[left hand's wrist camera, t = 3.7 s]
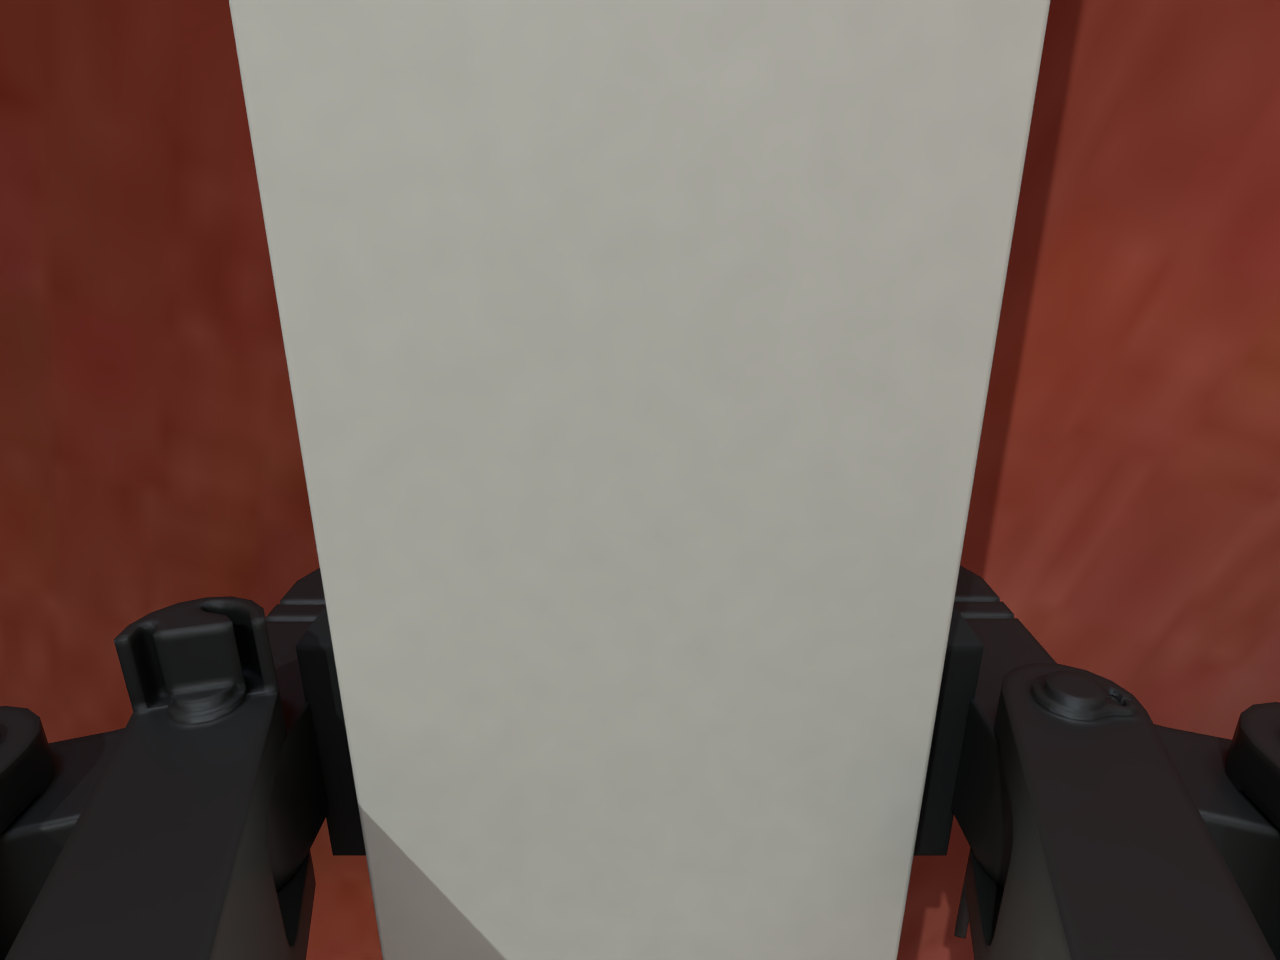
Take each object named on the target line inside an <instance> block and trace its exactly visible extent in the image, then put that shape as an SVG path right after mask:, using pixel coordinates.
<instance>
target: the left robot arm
mask: <svg viewBox="0 0 1280 960" xmlns="http://www.w3.org/2000/svg"><path fill="white" fill-rule="evenodd" d="M114 642H115V646H116V650H117V653H118V657H119V661H120V664H121V668H122V672H123V675H124V679H125V683H126V686H127V690H128V693H129V697H130V701H131V704H132V708H133V714H132V716H131V718H130V720H129V722H128V724H127V726H126V728H123V729H119V730H115V731H111V732H106V733H100V734H95V735H90V736H85V737H80V738H74V739H69V740H64V741H59V742H54V743H49V744H48V742H47V738H46V735H45V732H44V729H43V726H42V723H41V720H40V717H39V716H37V715H36V714H34V713H33V712H32V711H30V710H29V709H27V708H18V707H10V706H1V707H0V960H306V954H307V946H308V939H309V931H310V923H311V916H312V908H313V900H314V893H315V885H316V883H315V876H314V869H313V863H312V858H311V853H310V848H311V846H312V844H313V842H314V840H315V838H316V836H317V834H318V832H319V830H320V828H321V826H322V824H323V822H324V820H325V818H326V819H327V825H328V830H329V836H330V841H331V847H332V852H333V855H366V851H365V845H364V838H363V832H362V826H361V820H360V813H359V807H358V801H357V795H356V789H355V782H354V776H353V770H352V764H351V757H350V751H349V745H348V739H347V732H346V726H345V720H344V714H343V708H342V701H341V695H340V689H339V683H338V676H337V670H336V664H335V658H334V651H333V645H332V639H331V633H330V627H329V620H328V614H327V608H326V602H325V595H324V589H323V583H322V577H321V571H320V568H319V569H317V570H315V571H314V572H312V573H310V574H309V575H307V576H305V577H303V578H302V579H300V580H298V581H297V582H296V583H295V584H294V586H293V587H292V588H291V589H290V590H289V591H288V593H287V594H286V595H285V596H284V597H283V598H282V599H281V601H280V605H276V606H275V607H274V609H273V610H272V611H271V612H270V613H269V614H268V616H267V617H266V620H265V614H264V609H263V608H262V607H260V606H259V605H258V604H256V603H255V602H253V601H252V600H247V599H242V598H237V597H208V598H202V599H197V600H192V601H187V602H182V603H177V604H175V605H172V606H169V607H166V608H163V609H160V610H158V611H155V612H152V613H150V614H148V615H146V616H144V617H143V618H141V619H139V620H137V621H136V622H134V623H132V624H130V625H128V626H127V627H126V628H125V629H124V630H123V631H122V632H121V633H120V634H119V635H118V636H117V637H116V638H115V639H114ZM954 815H955V817H956V819H957V821H958V823H959V825H960V827H961V829H962V831H963V833H964V835H965V837H966V839H967V841H968V843H969V845H970V847H971V848H970V853H969V858H968V863H967V869H966V874H965V879H964V884H963V889H962V894H961V900H960V905H959V910H958V915H957V921H956V928H955V935H954V936H957V937H961V938H965V937H966V932H967V927H968V922H969V921H970V929H971V937H972V944H973V952H974V959H975V960H1280V703H1278V702H1273V703H1264V704H1256V705H1252V706H1251V707H1249V708H1248V709H1246V710H1245V711H1244V712H1242V713H1241V715H1240V718H1239V721H1238V724H1237V727H1236V730H1235V733H1234V736H1233V739H1232V740H1230V739H1224V738H1219V737H1214V736H1209V735H1203V734H1198V733H1193V732H1188V731H1183V730H1177V729H1172V728H1167V727H1163V726H1159V725H1155V724H1153V722H1152V720H1151V719H1150V717H1149V715H1148V713H1147V711H1146V710H1145V709H1144V707H1143V706H1142V705H1141V704H1140V703H1139V702H1138V700H1137V699H1136V698H1135V697H1134V696H1133V695H1132V694H1131V693H1129V692H1128V691H1126V690H1125V689H1123V688H1121V687H1120V686H1118V685H1117V684H1115V683H1114V682H1112V681H1110V680H1108V679H1106V678H1103V677H1101V676H1098V675H1096V674H1094V673H1091V672H1089V671H1086V670H1083V669H1078V668H1074V667H1070V666H1065V665H1061V664H1057V663H1056V662H1055V661H1054V660H1053V659H1052V657H1051V656H1050V655H1049V654H1048V653H1047V652H1046V651H1045V649H1044V648H1043V647H1042V646H1041V645H1040V644H1039V643H1038V641H1037V640H1036V639H1035V638H1034V637H1033V636H1032V635H1031V633H1030V632H1029V631H1028V630H1027V629H1026V628H1025V627H1024V625H1023V624H1022V623H1021V622H1020V621H1019V620H1018V619H1014V614H1013V613H1012V612H1011V611H1010V609H1009V608H1008V607H1007V606H1006V605H1005V604H1004V603H1003V602H1000V601H999V597H998V596H997V595H996V593H995V592H994V591H993V590H992V589H991V588H990V587H989V585H988V584H987V583H986V582H985V581H984V580H983V579H982V578H981V577H979V576H978V575H976V574H974V573H972V572H971V571H969V570H967V569H965V568H964V567H962V566H960V567H959V573H958V580H957V586H956V592H955V598H954V604H953V611H952V617H951V623H950V629H949V636H948V642H947V648H946V654H945V661H944V667H943V673H942V679H941V686H940V692H939V698H938V704H937V710H936V717H935V723H934V729H933V735H932V742H931V748H930V754H929V760H928V767H927V773H926V779H925V785H924V792H923V798H922V804H921V810H920V817H919V823H918V829H917V835H916V841H915V848H914V854H913V855H947V849H948V844H949V838H950V832H951V827H952V821H953V816H954Z"/></svg>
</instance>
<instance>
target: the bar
mask: <svg viewBox="0 0 1280 960" xmlns="http://www.w3.org/2000/svg"><path fill="white" fill-rule="evenodd" d="M229 4H230V10H231V16H232V22H233V29H234V35H235V41H236V47H237V54H238V60H239V66H240V72H241V78H242V85H243V91H244V97H245V103H246V110H247V116H248V122H249V128H250V135H251V141H252V147H253V153H254V159H255V166H256V172H257V178H258V184H259V191H260V197H261V203H262V209H263V216H264V222H265V228H266V234H267V240H268V247H269V253H270V259H271V265H272V272H273V278H274V284H275V290H276V296H277V303H278V309H279V315H280V321H281V328H282V334H283V340H284V346H285V353H286V359H287V365H288V371H289V377H290V384H291V390H292V396H293V402H294V409H295V415H296V421H297V427H298V434H299V440H300V446H301V452H302V458H303V465H304V471H305V477H306V483H307V490H308V496H309V502H310V508H311V514H312V521H313V527H314V533H315V539H316V546H317V552H318V558H319V564H320V571H321V577H322V583H323V589H324V595H325V602H326V608H327V614H328V620H329V627H330V633H331V639H332V645H333V651H334V658H335V664H336V670H337V676H338V683H339V689H340V695H341V701H342V708H343V714H344V720H345V726H346V732H347V739H348V745H349V751H350V757H351V764H352V770H353V776H354V782H355V789H356V795H357V801H358V807H359V813H360V820H361V826H362V832H363V838H364V845H365V851H366V857H367V863H368V869H369V876H370V882H371V888H372V894H373V901H374V907H375V913H376V919H377V926H378V932H379V938H380V944H381V950H382V957H383V960H897V954H898V948H899V941H900V935H901V929H902V923H903V916H904V910H905V904H906V898H907V891H908V885H909V879H910V873H911V866H912V860H913V854H914V848H915V841H916V835H917V829H918V823H919V817H920V810H921V804H922V798H923V792H924V785H925V779H926V773H927V767H928V760H929V754H930V748H931V742H932V735H933V729H934V723H935V717H936V710H937V704H938V698H939V692H940V686H941V679H942V673H943V667H944V661H945V654H946V648H947V642H948V636H949V629H950V623H951V617H952V611H953V604H954V598H955V592H956V586H957V580H958V573H959V567H960V561H961V555H962V548H963V542H964V536H965V530H966V523H967V517H968V511H969V505H970V498H971V492H972V486H973V480H974V473H975V467H976V461H977V455H978V449H979V442H980V436H981V430H982V424H983V417H984V411H985V405H986V399H987V392H988V386H989V380H990V374H991V367H992V361H993V355H994V349H995V342H996V336H997V330H998V324H999V318H1000V311H1001V305H1002V299H1003V293H1004V286H1005V280H1006V274H1007V268H1008V261H1009V255H1010V249H1011V243H1012V236H1013V230H1014V224H1015V218H1016V212H1017V205H1018V199H1019V193H1020V187H1021V180H1022V174H1023V168H1024V162H1025V155H1026V149H1027V143H1028V137H1029V130H1030V124H1031V118H1032V112H1033V105H1034V99H1035V93H1036V87H1037V81H1038V74H1039V68H1040V62H1041V56H1042V49H1043V43H1044V37H1045V31H1046V24H1047V18H1048V12H1049V6H1050V0H229Z"/></svg>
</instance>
